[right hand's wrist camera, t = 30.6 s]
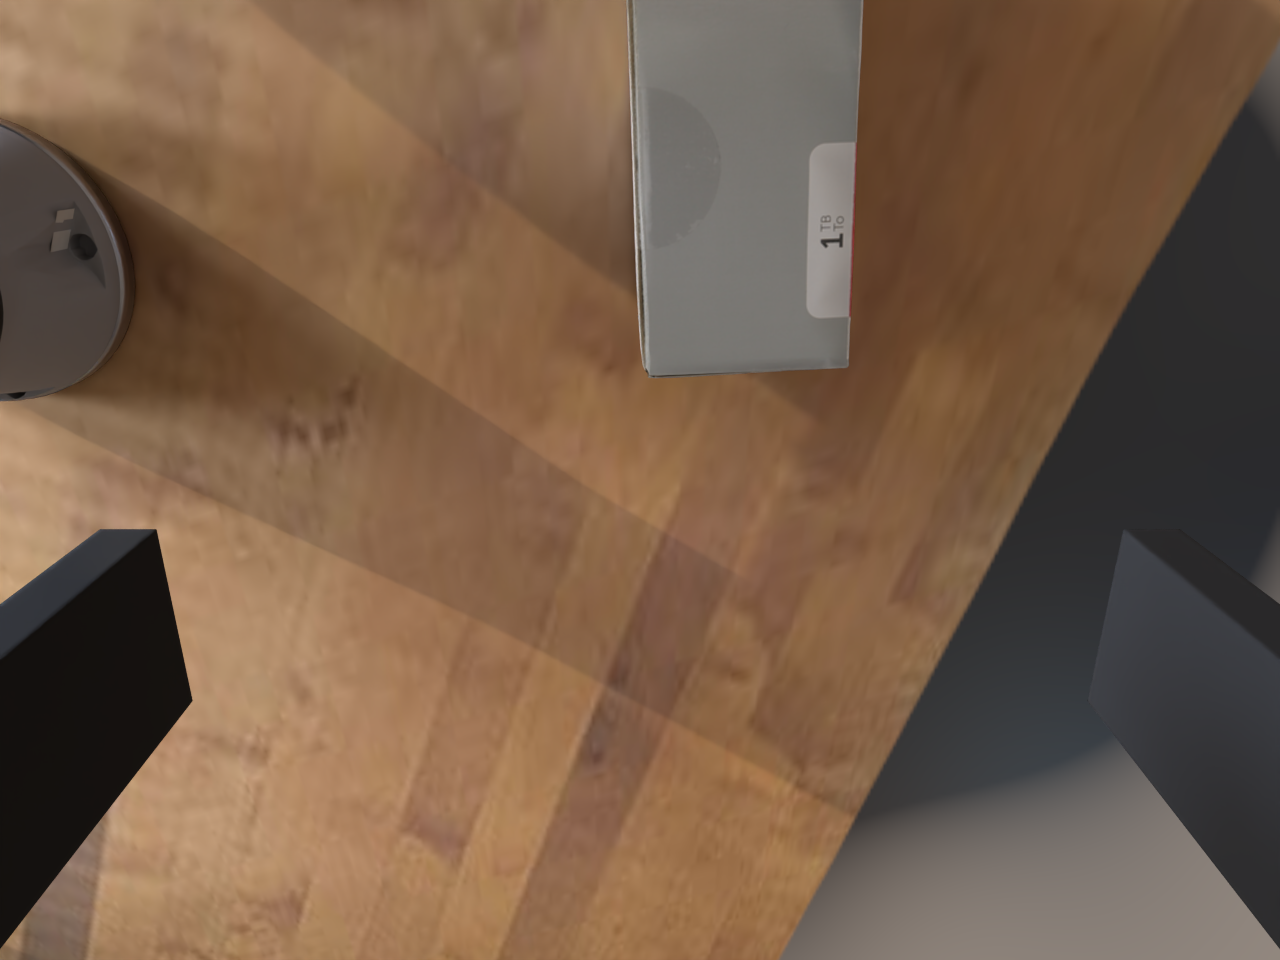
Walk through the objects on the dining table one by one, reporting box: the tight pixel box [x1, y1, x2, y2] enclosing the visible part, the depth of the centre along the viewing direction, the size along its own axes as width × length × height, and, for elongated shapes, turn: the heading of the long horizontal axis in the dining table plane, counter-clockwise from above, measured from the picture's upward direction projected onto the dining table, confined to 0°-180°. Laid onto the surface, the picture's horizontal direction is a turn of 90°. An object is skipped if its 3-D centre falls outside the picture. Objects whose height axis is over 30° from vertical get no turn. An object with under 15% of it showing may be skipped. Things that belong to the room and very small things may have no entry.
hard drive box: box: [627, 0, 863, 378], centre depth 39 cm, size 16×8×20 cm, turn 2°
